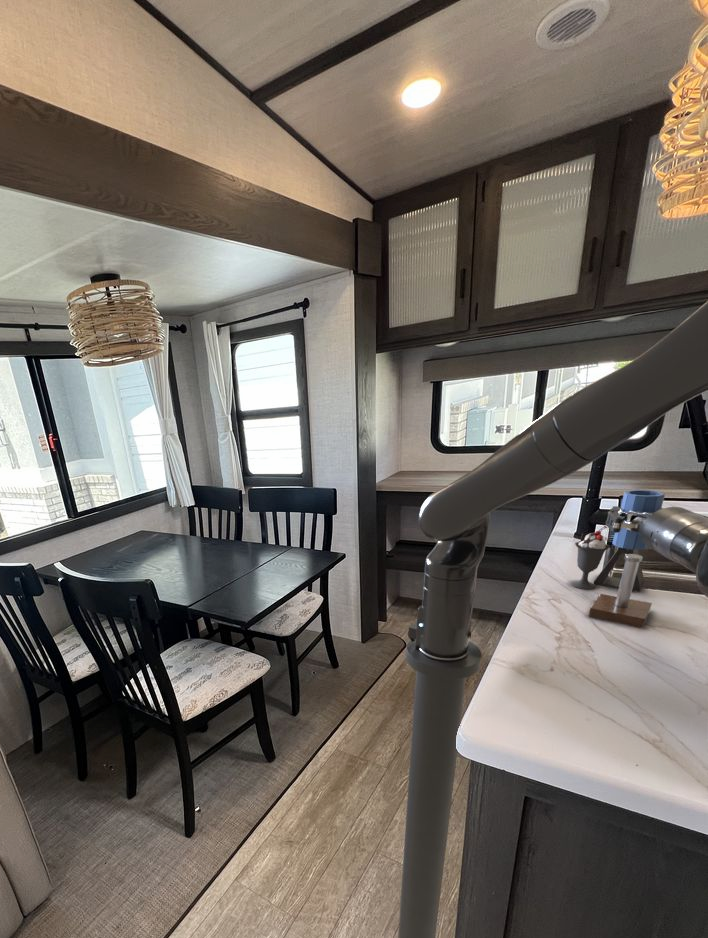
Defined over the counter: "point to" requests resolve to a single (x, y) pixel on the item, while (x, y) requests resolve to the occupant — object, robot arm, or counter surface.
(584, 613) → the counter surface
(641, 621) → the wooden base post
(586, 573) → the sundae
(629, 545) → the blue sleeve
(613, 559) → the phone stand
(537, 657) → the counter surface
